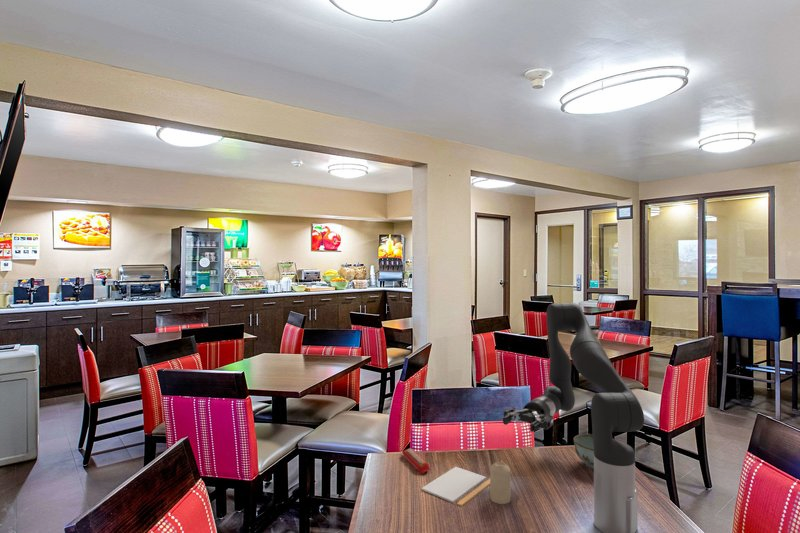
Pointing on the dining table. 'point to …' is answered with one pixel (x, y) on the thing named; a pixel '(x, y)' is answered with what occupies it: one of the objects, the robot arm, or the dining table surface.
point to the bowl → (585, 449)
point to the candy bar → (416, 460)
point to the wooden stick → (474, 493)
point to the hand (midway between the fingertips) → (517, 424)
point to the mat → (453, 484)
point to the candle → (500, 483)
